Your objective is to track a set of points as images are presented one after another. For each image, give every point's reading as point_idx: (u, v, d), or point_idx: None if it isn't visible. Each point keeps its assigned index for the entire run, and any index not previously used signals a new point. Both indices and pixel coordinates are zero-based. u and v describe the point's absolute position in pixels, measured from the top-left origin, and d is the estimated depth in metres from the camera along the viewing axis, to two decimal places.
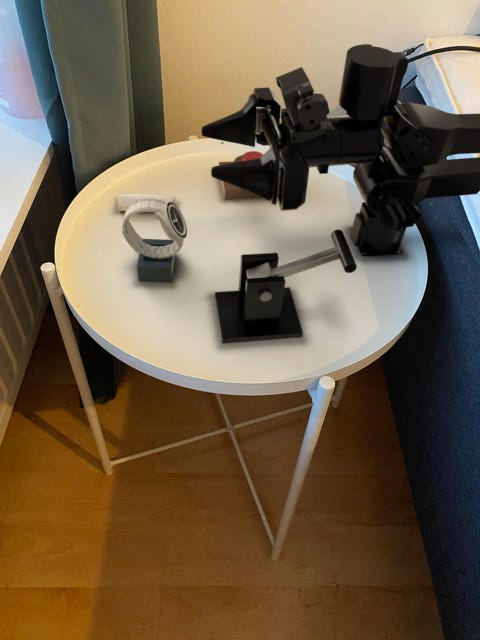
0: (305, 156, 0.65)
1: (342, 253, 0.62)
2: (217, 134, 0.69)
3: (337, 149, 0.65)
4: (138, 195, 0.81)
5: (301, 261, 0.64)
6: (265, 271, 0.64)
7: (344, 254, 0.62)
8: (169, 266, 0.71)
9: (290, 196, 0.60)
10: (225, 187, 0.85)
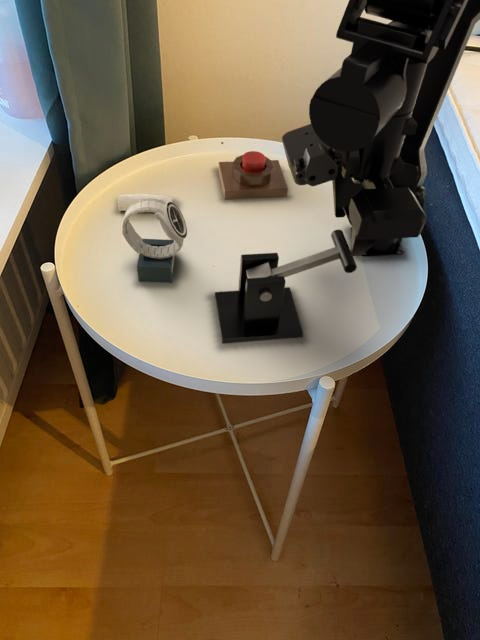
0: (380, 160, 0.51)
1: (342, 253, 0.62)
2: (347, 203, 0.62)
3: None
4: (138, 195, 0.81)
5: (301, 261, 0.64)
6: (265, 271, 0.64)
7: (344, 254, 0.62)
8: (169, 266, 0.71)
9: (402, 231, 0.49)
10: (225, 187, 0.85)
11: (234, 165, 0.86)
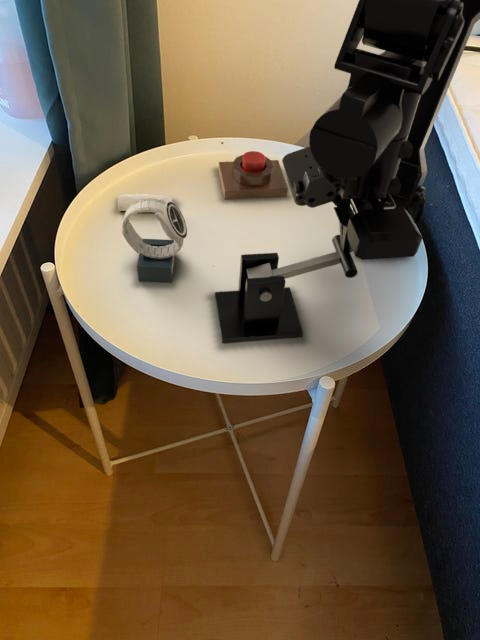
0: (377, 181, 0.53)
1: (343, 258, 0.63)
2: None
3: None
4: (138, 195, 0.81)
5: (302, 263, 0.64)
6: (266, 271, 0.64)
7: (346, 259, 0.62)
8: (169, 266, 0.71)
9: (398, 251, 0.51)
10: (225, 187, 0.85)
11: (234, 165, 0.86)
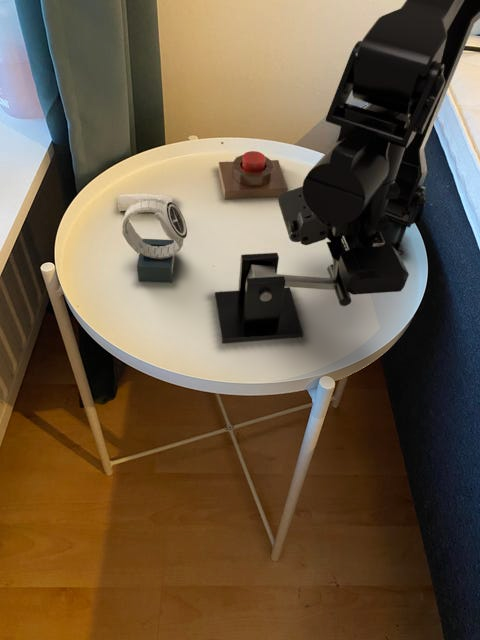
0: (367, 220, 0.56)
1: (341, 286, 0.66)
2: None
3: None
4: (138, 195, 0.81)
5: (302, 278, 0.66)
6: (271, 273, 0.64)
7: (343, 287, 0.66)
8: (169, 266, 0.71)
9: (386, 287, 0.55)
10: (225, 187, 0.85)
11: (234, 165, 0.86)
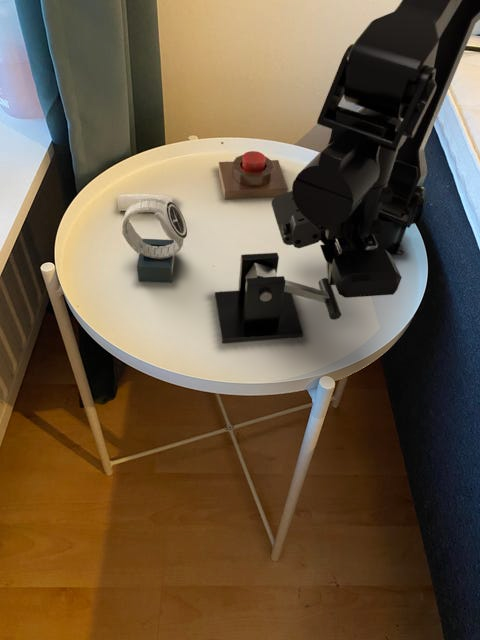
0: (360, 223, 0.57)
1: (332, 300, 0.68)
2: None
3: None
4: (138, 195, 0.81)
5: (299, 285, 0.67)
6: (272, 275, 0.64)
7: (334, 302, 0.68)
8: (169, 266, 0.71)
9: (379, 290, 0.55)
10: (225, 187, 0.85)
11: (234, 165, 0.86)
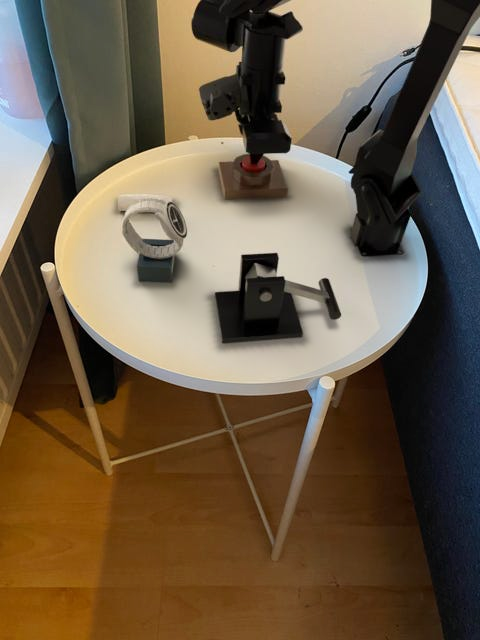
0: (263, 102, 0.76)
1: (332, 300, 0.68)
2: None
3: (261, 74, 0.73)
4: (138, 195, 0.81)
5: (299, 285, 0.67)
6: (272, 275, 0.64)
7: (334, 302, 0.68)
8: (169, 266, 0.71)
9: (275, 148, 0.74)
10: (225, 187, 0.85)
11: (234, 165, 0.86)
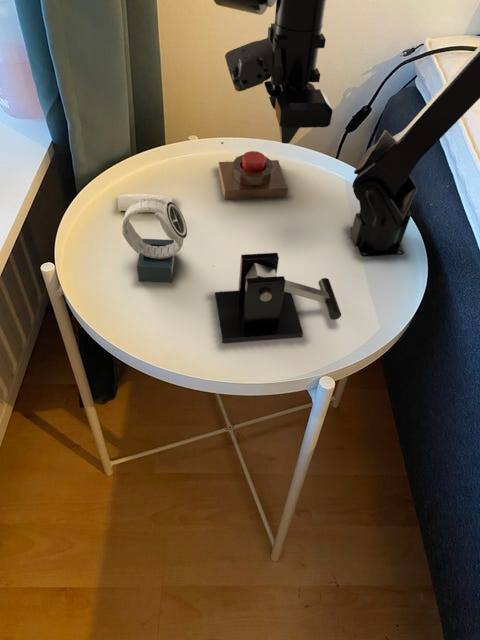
0: (299, 68, 0.66)
1: (332, 300, 0.68)
2: None
3: (298, 35, 0.63)
4: (138, 195, 0.81)
5: (299, 285, 0.67)
6: (272, 275, 0.64)
7: (334, 302, 0.68)
8: (169, 266, 0.71)
9: (313, 121, 0.64)
10: (225, 187, 0.85)
11: (234, 165, 0.86)
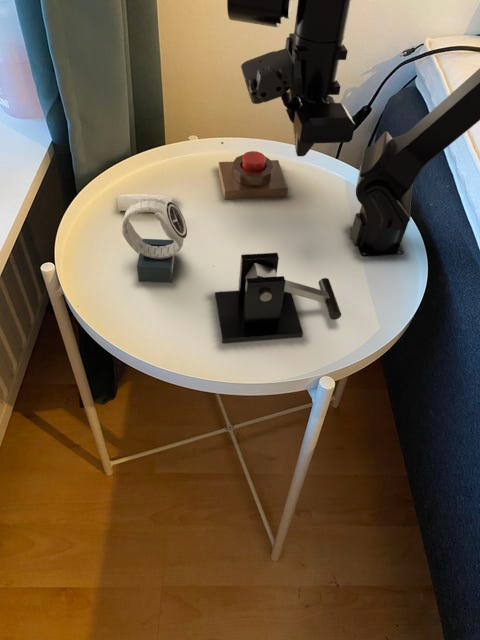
0: (319, 81, 0.63)
1: (332, 300, 0.68)
2: None
3: (320, 46, 0.60)
4: (138, 195, 0.81)
5: (299, 285, 0.67)
6: (272, 275, 0.64)
7: (334, 302, 0.68)
8: (169, 266, 0.71)
9: (335, 136, 0.62)
10: (225, 187, 0.85)
11: (234, 165, 0.86)
